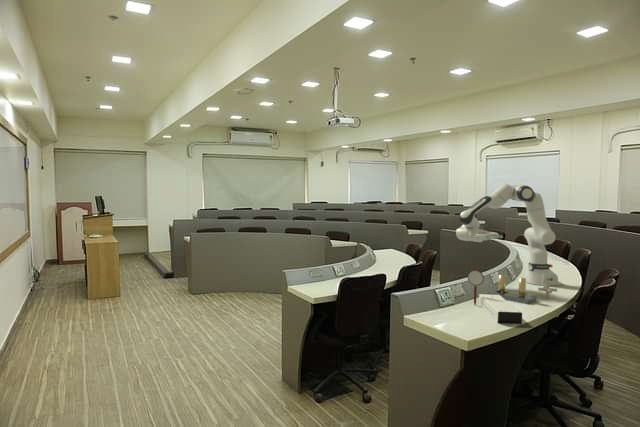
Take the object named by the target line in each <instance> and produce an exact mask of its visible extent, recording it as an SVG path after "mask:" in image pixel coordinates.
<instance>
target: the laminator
mask: <svg viewBox="0 0 640 427" xmlns="http://www.w3.org/2000/svg"><path fill="white" fill-rule="evenodd" d="M478 305H479V306H480V307H481V308H482V309H483V310H484V311H485V312H486V313H487V314H488V315H489V316H490V317H491V319H492V320H494V319H495V320H496V321H495V320H494V321H495V322H496V323H497V324H512V323H516V324H518V325H520V324H521V325H522V323H523V312H522V311H520V310H519V309H518V308H516V307H515V305H512V304H511V302H509V300H505V299H504V298H502V297H501V296H500V295H489V294H488V293H487V294H482V293H480V294H478Z"/></svg>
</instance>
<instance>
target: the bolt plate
mask: <svg viewBox="0 0 640 427" xmlns="http://www.w3.org/2000/svg"><path fill="white" fill-rule="evenodd" d="M526 281H527V278H526V277H519V279H518V292H515V291H510V290H505V294H502V293H499V288H495V289H492V290H489V291H487V294H489V295H500V296H501V297H502V298H504V299H505V300H506V301H511V302H516V303H521V304H525V305H530V304H532V303H534V302H536V301H537V299H538V296H537V295H531V294H526V292H527V290H526V289H527V288H526V287H527V286H526V284H527V282H526Z"/></svg>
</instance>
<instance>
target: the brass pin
mask: <svg viewBox="0 0 640 427" xmlns="http://www.w3.org/2000/svg"><path fill="white" fill-rule="evenodd" d="M498 289H499V293H502V294H505V291H506V274H498Z"/></svg>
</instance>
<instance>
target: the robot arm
mask: <svg viewBox="0 0 640 427" xmlns="http://www.w3.org/2000/svg"><path fill="white" fill-rule="evenodd" d="M509 200H513V201H517V202H524V203H525V206H526V213H527V220H528V223H530V225H531V227H528V228H526V229H525V230H524V233H523V236H524V238H525V239H526V241H527V244H528V249H529V262H528V273H527V278H526V284H531V285H537V286H538V285H539V286H543V287H544V286H545V287H546V281H549V282H550V287H551V286H559V285H562V284H563V283H562V282H561V281H559V276H558V275H557V273H555V272H554V271H553V270H551V269H550V268H553V264H551V263H548V257H549V256H548V253H549V252H548V251H547V249H546V247H545V245H551V244H553V243H554V242H555V240H556V234H555V232H554V231H553V230H552V229H551V227H550V225H549V223H548V219H547V215H546V208H545V203H544V200H543V196H542V195H541V194H540V193H538V192H535V191H534V190H533V188H532V187H531V186H529V185H522V184H521V185H520V184H519V185H514V186H513V185H511V184H508V183H504V184H502V185H500V186H499V187H498V188H496V189H495V190H494V191H493V192H492V193H490V194H488V195H486V196H484V197H481V198H480V199H479V200H477V201H476V202H475V203H473V204H472V205H471V206H469V207H468V208H466V209H465V210H462V211H461V212H460V213H459V214H458V221H459V222H460V223H461V224H462V225H461V226H460V227H459V228H457V229H456V230H455V235H456V238H457V239H458V240H461V241H465V242H475V243H477V242H478V243H482V242H483V241H489V240H496V239H503V238H504V236H503V235H502V234H500V235H499V233H498V232H494V231H488V230H487V229H481V228H480V227H481V226H480V225H481V223H480V221H479V220H478V219H477V217H476V216H475V215H476V214H477V213H479V212H480V211H482V210H483V209H484V208H487V207H488V208H491V209H495V210H496V209H500V208H501V207H503V206H505V204H506V203H507V202H508V201H509Z"/></svg>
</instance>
